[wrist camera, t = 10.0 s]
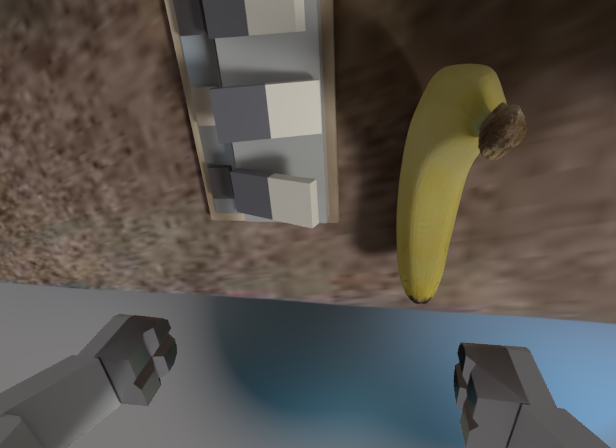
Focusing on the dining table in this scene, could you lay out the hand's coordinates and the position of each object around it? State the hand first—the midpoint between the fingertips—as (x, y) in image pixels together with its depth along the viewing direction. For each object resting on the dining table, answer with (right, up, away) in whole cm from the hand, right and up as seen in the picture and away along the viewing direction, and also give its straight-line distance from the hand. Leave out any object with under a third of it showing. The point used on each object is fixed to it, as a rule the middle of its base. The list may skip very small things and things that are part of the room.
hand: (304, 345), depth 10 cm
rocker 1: (-3, +21, +18) cm, 28 cm away
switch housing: (-3, +16, +25) cm, 30 cm away
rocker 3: (-2, +7, +26) cm, 27 cm away
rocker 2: (-4, +14, +22) cm, 26 cm away
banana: (+12, +8, +27) cm, 30 cm away
